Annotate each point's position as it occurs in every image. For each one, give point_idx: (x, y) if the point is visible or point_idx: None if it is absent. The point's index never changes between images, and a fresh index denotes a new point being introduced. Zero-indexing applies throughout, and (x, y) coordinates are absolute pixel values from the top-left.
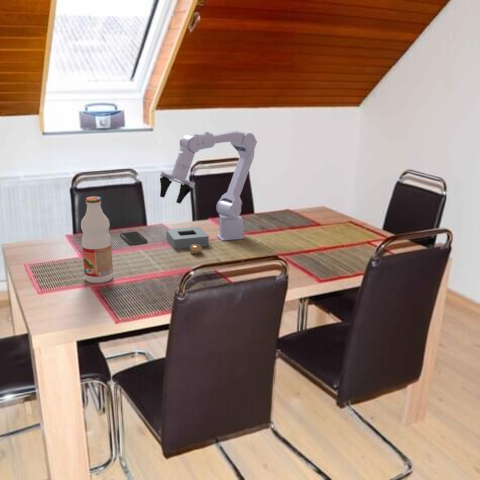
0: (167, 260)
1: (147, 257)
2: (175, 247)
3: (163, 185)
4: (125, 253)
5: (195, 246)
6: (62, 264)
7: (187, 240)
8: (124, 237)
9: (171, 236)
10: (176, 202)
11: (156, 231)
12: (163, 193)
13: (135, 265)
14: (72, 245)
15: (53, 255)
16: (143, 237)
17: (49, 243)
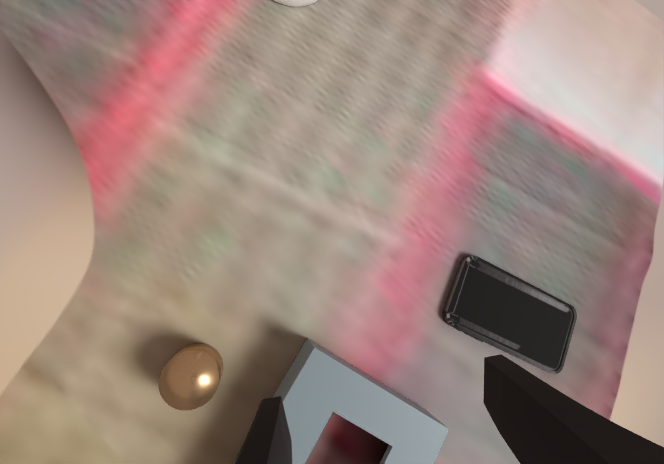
0: (232, 223)
1: (318, 200)
2: (305, 343)
3: (608, 460)
4: (409, 183)
5: (187, 373)
6: (465, 4)
7: None
8: (535, 292)
9: (359, 374)
10: (278, 397)
11: None
12: (512, 410)
13: (289, 115)
14: (581, 136)
15: (543, 44)
16: (489, 341)
17: (633, 110)
